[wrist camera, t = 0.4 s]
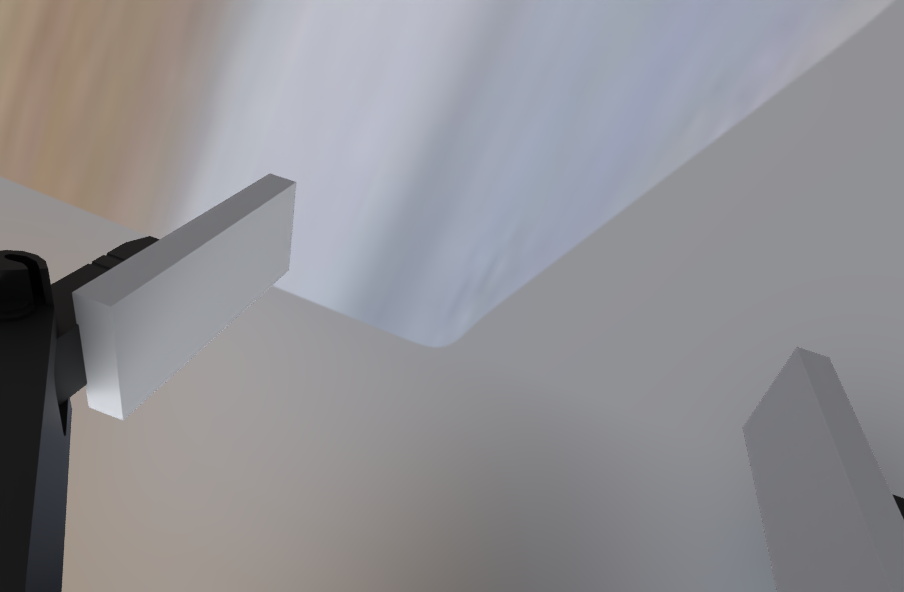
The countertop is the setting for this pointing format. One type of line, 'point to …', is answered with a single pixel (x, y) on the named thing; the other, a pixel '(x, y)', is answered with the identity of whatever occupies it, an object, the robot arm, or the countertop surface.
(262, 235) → the robot arm
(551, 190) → the countertop surface
